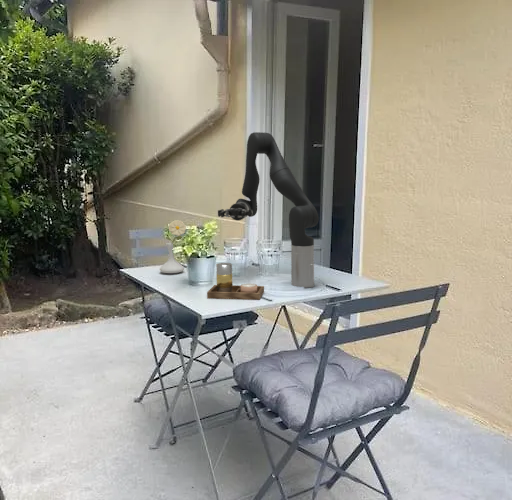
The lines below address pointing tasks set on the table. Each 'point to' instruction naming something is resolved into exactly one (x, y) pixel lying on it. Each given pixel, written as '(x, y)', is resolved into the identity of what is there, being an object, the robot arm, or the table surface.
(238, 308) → the table surface
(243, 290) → the ramekin
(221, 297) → the tray
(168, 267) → the flower in vase
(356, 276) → the table surface
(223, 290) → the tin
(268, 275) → the table surface
